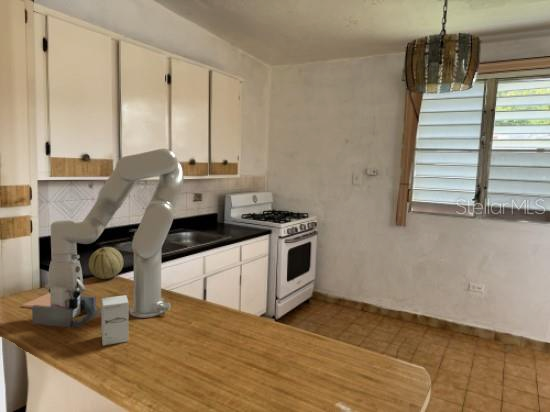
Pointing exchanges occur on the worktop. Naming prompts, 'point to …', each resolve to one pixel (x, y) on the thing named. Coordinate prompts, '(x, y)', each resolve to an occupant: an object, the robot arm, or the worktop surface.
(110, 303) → the supplement box
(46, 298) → the plate
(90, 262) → the cantaloupe
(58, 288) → the ink box
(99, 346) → the worktop surface
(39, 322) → the grey frame rack
